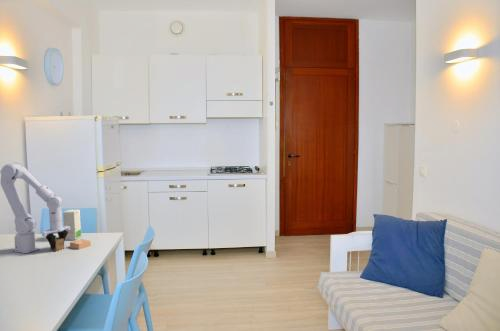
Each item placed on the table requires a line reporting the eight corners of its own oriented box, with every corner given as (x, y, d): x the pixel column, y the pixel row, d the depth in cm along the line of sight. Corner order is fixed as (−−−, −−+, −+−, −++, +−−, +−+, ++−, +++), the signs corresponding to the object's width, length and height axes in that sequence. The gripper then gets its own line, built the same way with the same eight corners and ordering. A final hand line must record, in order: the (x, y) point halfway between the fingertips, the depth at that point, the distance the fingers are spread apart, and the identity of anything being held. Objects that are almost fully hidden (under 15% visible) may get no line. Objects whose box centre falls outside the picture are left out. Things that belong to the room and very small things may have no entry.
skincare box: (75, 240, 228) (74, 212, 226) (63, 240, 228) (62, 212, 227) (81, 236, 236) (80, 208, 235) (70, 236, 236) (68, 208, 235)
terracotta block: (70, 248, 215) (69, 242, 215) (81, 244, 221) (81, 239, 221) (79, 250, 212) (78, 244, 211) (90, 246, 218) (90, 240, 217)
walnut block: (50, 250, 210) (49, 239, 210) (58, 248, 214) (57, 237, 214) (56, 251, 208) (55, 240, 208) (64, 249, 212) (63, 238, 212)
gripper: (48, 224, 202) (49, 251, 203) (73, 218, 214) (74, 244, 216) (38, 222, 205) (40, 249, 206) (64, 216, 218) (65, 242, 219)
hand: (57, 246), depth 211 cm, fingers closed on walnut block, 4 cm apart
